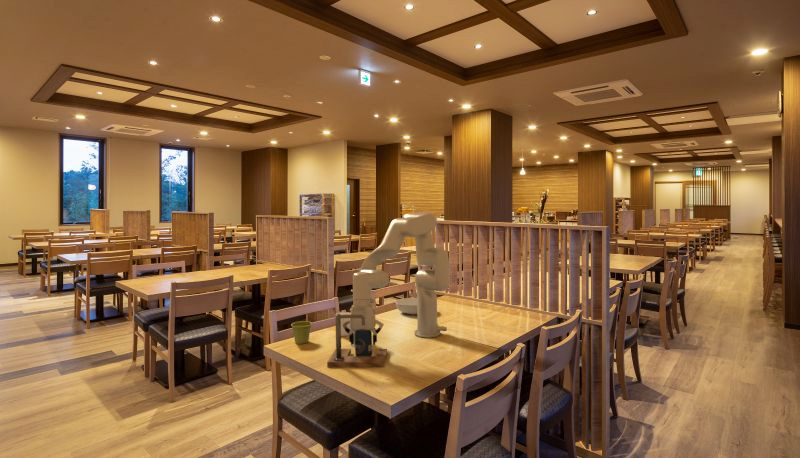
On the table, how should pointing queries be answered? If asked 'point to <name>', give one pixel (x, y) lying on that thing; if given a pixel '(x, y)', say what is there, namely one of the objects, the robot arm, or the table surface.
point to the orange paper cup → (343, 320)
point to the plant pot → (301, 331)
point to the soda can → (363, 343)
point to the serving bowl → (407, 305)
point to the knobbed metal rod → (338, 333)
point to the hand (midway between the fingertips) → (363, 343)
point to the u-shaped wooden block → (358, 359)
